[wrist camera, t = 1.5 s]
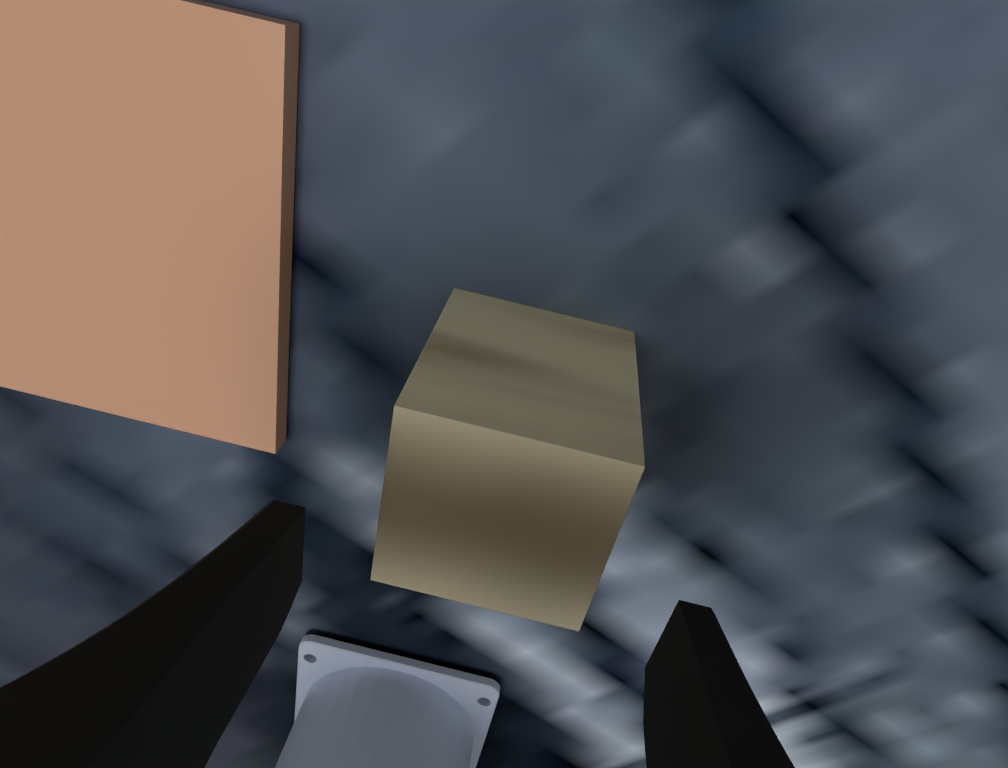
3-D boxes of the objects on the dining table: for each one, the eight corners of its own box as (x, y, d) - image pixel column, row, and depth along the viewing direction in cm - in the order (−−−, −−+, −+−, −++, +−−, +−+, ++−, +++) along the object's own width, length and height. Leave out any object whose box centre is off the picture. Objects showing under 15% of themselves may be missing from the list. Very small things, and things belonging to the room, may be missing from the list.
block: (585, 471, 21) (579, 631, 16) (428, 433, 21) (370, 579, 16) (634, 331, 18) (644, 466, 13) (454, 287, 18) (394, 405, 13)
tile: (285, 439, 21) (275, 454, 21) (-74, 350, 22) (-96, 362, 21) (299, 23, 15) (285, 25, 15) (-206, -97, 15) (-244, -101, 15)
